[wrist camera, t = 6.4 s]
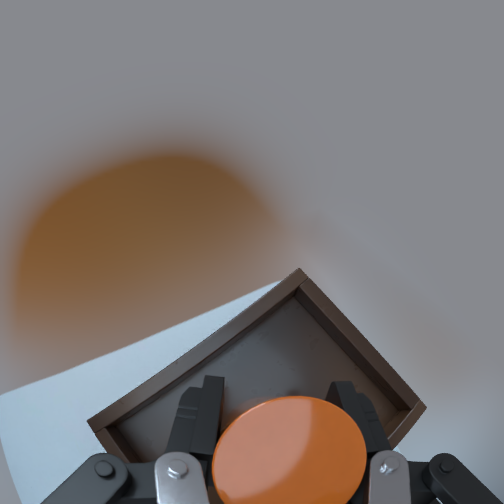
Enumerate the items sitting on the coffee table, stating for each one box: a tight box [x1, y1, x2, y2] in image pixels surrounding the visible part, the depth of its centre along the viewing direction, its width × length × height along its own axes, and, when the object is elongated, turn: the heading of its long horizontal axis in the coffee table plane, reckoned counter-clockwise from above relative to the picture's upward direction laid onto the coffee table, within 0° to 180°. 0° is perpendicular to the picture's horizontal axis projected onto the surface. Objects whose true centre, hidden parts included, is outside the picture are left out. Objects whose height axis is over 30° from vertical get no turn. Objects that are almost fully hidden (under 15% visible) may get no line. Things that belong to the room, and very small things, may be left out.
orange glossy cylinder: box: [212, 396, 367, 504], centre depth 9 cm, size 4×4×8 cm
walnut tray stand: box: [87, 268, 427, 504], centre depth 19 cm, size 14×11×18 cm
